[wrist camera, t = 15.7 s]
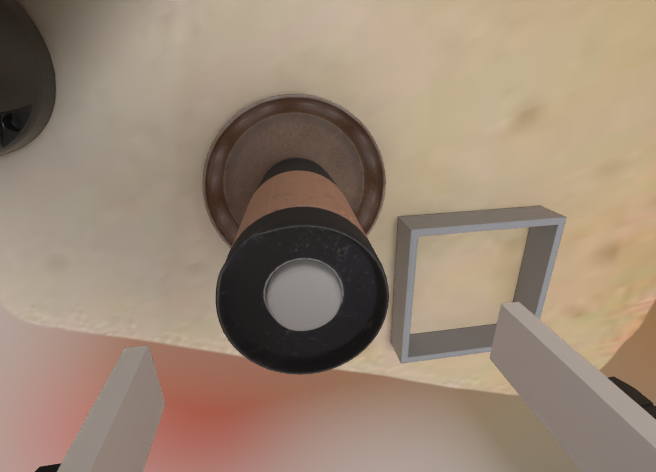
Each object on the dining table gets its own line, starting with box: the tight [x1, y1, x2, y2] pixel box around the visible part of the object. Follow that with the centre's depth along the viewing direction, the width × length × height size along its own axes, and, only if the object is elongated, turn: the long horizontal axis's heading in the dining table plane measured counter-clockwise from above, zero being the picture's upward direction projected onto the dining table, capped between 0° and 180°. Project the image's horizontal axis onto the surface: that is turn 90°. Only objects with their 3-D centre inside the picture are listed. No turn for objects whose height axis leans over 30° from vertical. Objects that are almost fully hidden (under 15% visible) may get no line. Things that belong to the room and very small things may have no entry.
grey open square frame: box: [391, 206, 567, 364], centre depth 42 cm, size 18×18×4 cm
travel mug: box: [216, 158, 389, 374], centre depth 24 cm, size 8×8×20 cm
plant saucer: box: [203, 94, 386, 248], centre depth 35 cm, size 18×18×3 cm
